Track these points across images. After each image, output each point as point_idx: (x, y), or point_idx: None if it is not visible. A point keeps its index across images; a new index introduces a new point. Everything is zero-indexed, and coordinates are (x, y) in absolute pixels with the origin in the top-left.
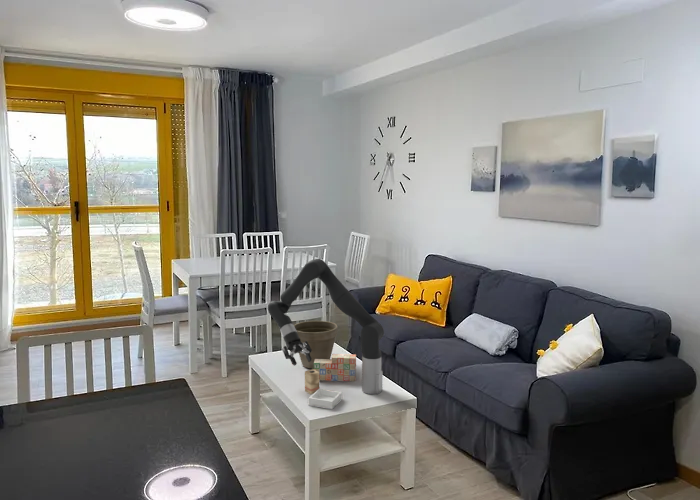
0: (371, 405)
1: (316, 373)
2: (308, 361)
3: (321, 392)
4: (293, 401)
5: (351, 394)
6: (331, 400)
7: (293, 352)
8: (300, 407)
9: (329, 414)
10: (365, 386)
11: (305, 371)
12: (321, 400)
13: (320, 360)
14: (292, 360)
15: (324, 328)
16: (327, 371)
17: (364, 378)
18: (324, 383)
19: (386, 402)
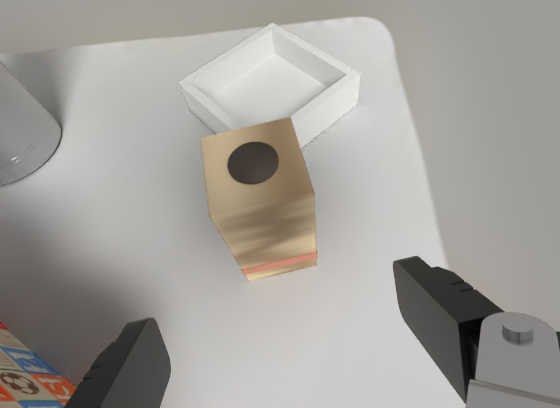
0: (129, 46)
1: (232, 134)
2: (167, 372)
3: None
4: (422, 159)
5: (119, 141)
6: (267, 32)
7: (505, 383)
8: (400, 96)
9: (303, 27)
10: (37, 106)
11: (308, 188)
12: (307, 44)
13: None
14: (476, 292)
15: None
16: (26, 391)
17: (3, 77)
18: None
19: (69, 51)
